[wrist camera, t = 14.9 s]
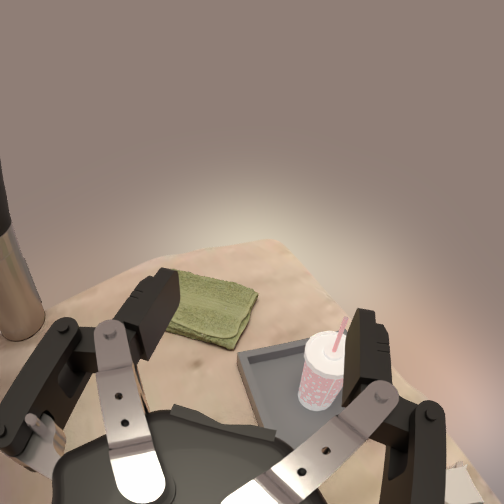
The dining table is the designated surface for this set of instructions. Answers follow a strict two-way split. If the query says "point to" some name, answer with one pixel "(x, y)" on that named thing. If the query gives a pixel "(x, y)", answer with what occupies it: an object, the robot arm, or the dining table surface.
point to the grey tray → (282, 391)
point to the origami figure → (460, 486)
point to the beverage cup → (323, 369)
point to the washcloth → (212, 309)
